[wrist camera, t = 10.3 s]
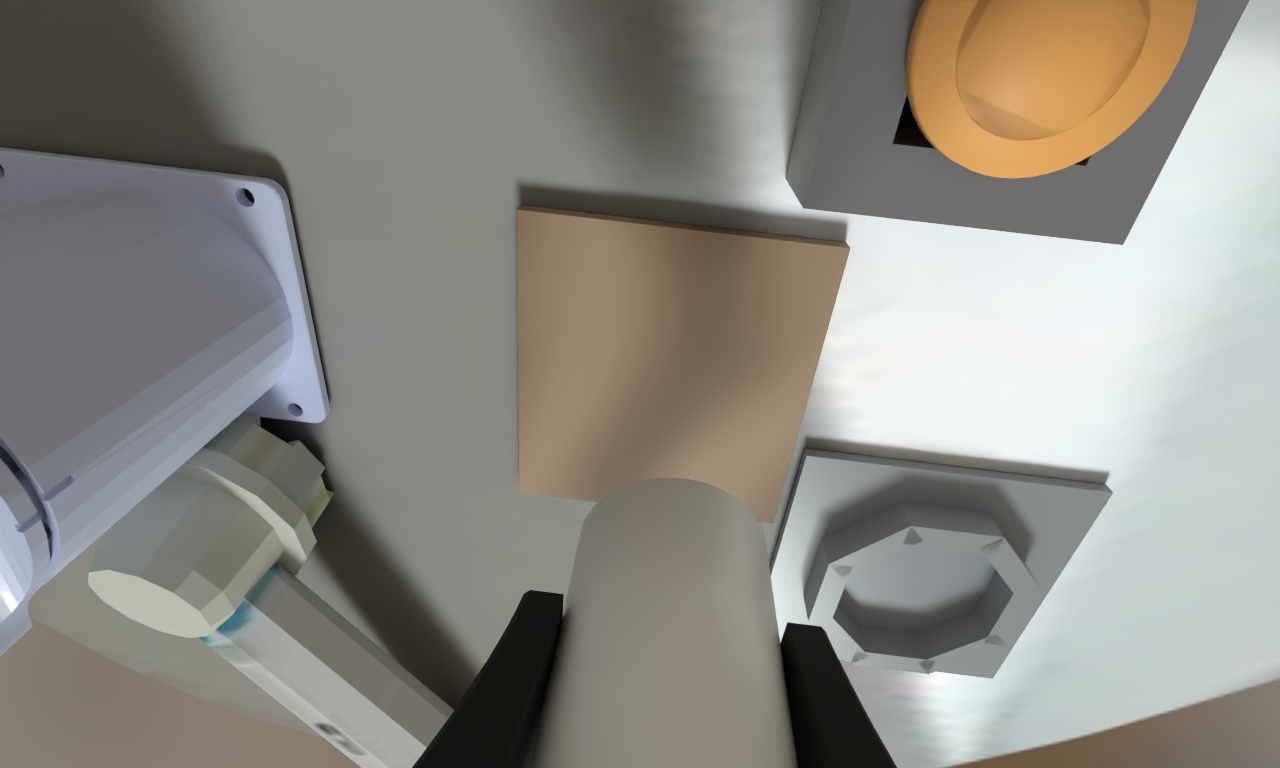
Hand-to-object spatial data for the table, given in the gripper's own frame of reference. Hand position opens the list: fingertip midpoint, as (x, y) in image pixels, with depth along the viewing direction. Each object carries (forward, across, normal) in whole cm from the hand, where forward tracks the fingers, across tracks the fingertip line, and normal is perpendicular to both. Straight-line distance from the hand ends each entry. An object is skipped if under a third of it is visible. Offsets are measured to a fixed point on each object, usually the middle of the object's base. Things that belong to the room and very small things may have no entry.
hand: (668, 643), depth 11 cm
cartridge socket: (+10, -10, +7) cm, 15 cm away
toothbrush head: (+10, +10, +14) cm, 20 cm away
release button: (+9, -5, -10) cm, 15 cm away
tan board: (+10, 0, 0) cm, 10 cm away
